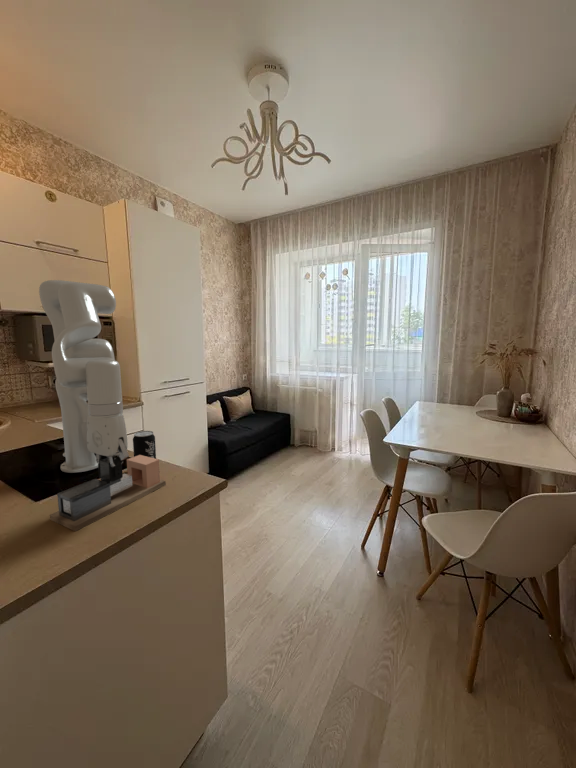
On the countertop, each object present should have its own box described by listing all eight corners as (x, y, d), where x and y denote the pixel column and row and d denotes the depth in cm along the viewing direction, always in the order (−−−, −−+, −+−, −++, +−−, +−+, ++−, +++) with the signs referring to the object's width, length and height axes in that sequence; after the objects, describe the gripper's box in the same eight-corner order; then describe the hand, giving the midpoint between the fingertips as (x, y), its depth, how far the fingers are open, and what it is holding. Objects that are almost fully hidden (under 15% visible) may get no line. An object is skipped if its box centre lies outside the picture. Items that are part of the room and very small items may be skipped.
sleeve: (59, 515, 75) (57, 493, 74) (96, 498, 83) (95, 478, 82) (74, 521, 72) (72, 499, 72) (111, 503, 80) (109, 483, 80)
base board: (50, 519, 75) (49, 514, 75) (141, 478, 98) (141, 474, 98) (75, 531, 71) (75, 526, 71) (165, 485, 93) (165, 481, 93)
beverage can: (141, 474, 100) (139, 437, 99) (130, 469, 104) (128, 433, 103) (160, 467, 106) (158, 432, 104) (149, 463, 109) (148, 429, 108)
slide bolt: (62, 510, 75) (59, 474, 73) (124, 483, 89) (122, 452, 88) (72, 514, 73) (68, 477, 72) (133, 486, 87) (131, 454, 86)
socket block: (128, 482, 92) (126, 459, 91) (140, 476, 96) (139, 454, 95) (147, 488, 89) (146, 464, 88) (160, 481, 93) (158, 459, 92)
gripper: (70, 408, 81) (76, 476, 83) (113, 416, 73) (118, 491, 76) (99, 403, 87) (104, 466, 90) (141, 409, 80) (145, 478, 83)
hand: (110, 477), depth 83 cm, fingers closed on slide bolt, 3 cm apart
